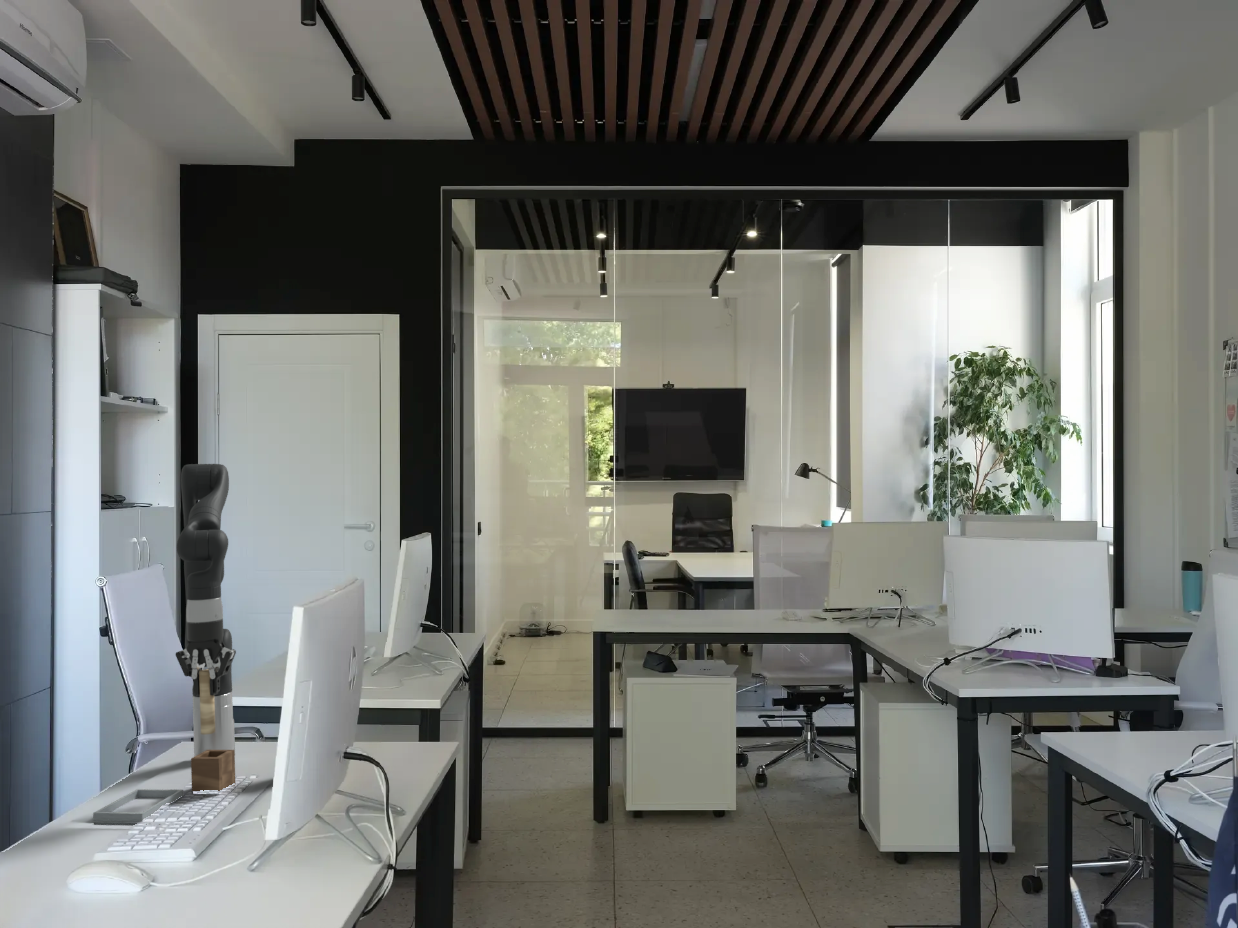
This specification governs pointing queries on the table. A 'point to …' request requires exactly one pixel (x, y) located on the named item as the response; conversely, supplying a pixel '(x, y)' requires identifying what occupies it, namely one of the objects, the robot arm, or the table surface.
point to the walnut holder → (213, 770)
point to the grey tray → (108, 815)
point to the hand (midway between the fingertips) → (206, 694)
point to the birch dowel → (206, 703)
